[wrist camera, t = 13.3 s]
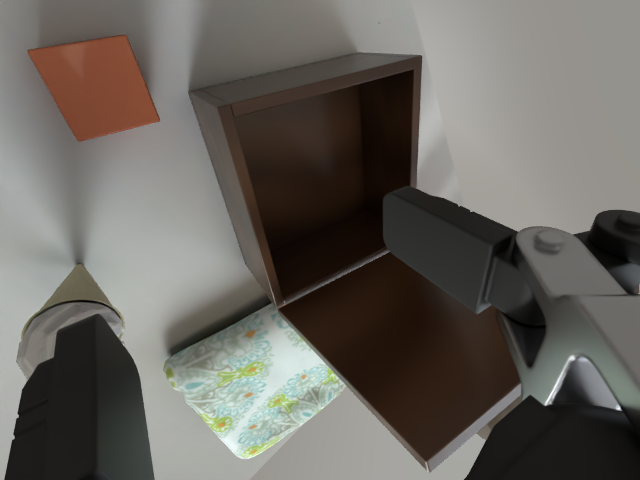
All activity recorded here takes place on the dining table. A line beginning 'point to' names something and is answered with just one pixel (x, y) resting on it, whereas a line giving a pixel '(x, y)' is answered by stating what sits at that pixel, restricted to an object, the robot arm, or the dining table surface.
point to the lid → (411, 355)
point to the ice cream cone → (64, 317)
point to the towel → (253, 381)
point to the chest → (312, 163)
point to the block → (96, 85)
